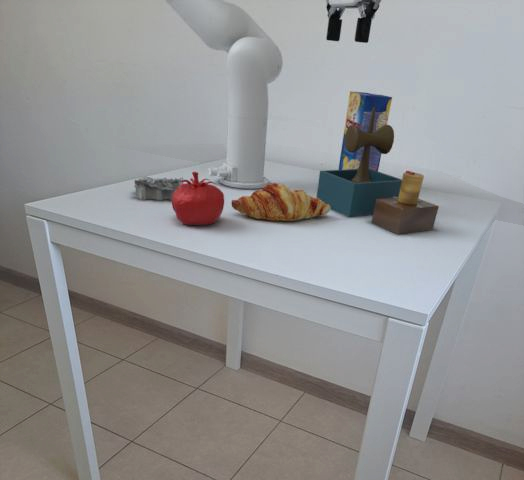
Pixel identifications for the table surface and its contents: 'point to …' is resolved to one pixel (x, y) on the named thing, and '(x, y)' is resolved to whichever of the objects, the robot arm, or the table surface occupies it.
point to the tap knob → (410, 188)
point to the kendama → (368, 145)
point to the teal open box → (355, 191)
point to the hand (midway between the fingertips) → (346, 41)
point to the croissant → (280, 204)
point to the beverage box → (364, 126)
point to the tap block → (404, 215)
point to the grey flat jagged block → (156, 188)
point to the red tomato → (197, 202)
